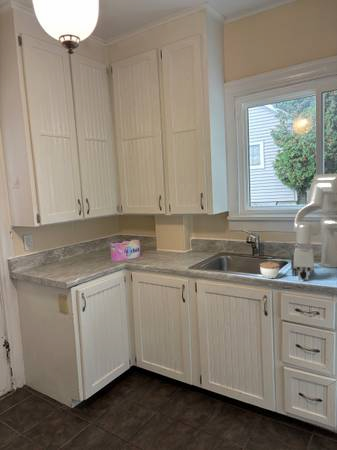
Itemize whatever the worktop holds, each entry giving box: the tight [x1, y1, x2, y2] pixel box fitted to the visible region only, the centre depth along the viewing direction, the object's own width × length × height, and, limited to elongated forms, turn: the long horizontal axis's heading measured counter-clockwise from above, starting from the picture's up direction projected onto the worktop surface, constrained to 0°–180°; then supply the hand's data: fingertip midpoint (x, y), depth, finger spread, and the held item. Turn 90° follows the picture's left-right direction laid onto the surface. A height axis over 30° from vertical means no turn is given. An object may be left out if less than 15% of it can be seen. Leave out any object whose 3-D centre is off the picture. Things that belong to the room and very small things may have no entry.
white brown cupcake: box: [259, 261, 280, 279], centre depth 192 cm, size 11×11×9 cm
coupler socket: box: [290, 254, 314, 278], centre depth 200 cm, size 18×11×9 cm, turn 162°
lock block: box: [297, 268, 309, 281], centre depth 188 cm, size 7×5×5 cm
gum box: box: [109, 238, 141, 263], centre depth 260 cm, size 24×8×14 cm, turn 130°
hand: (303, 278), depth 183 cm, fingers closed
